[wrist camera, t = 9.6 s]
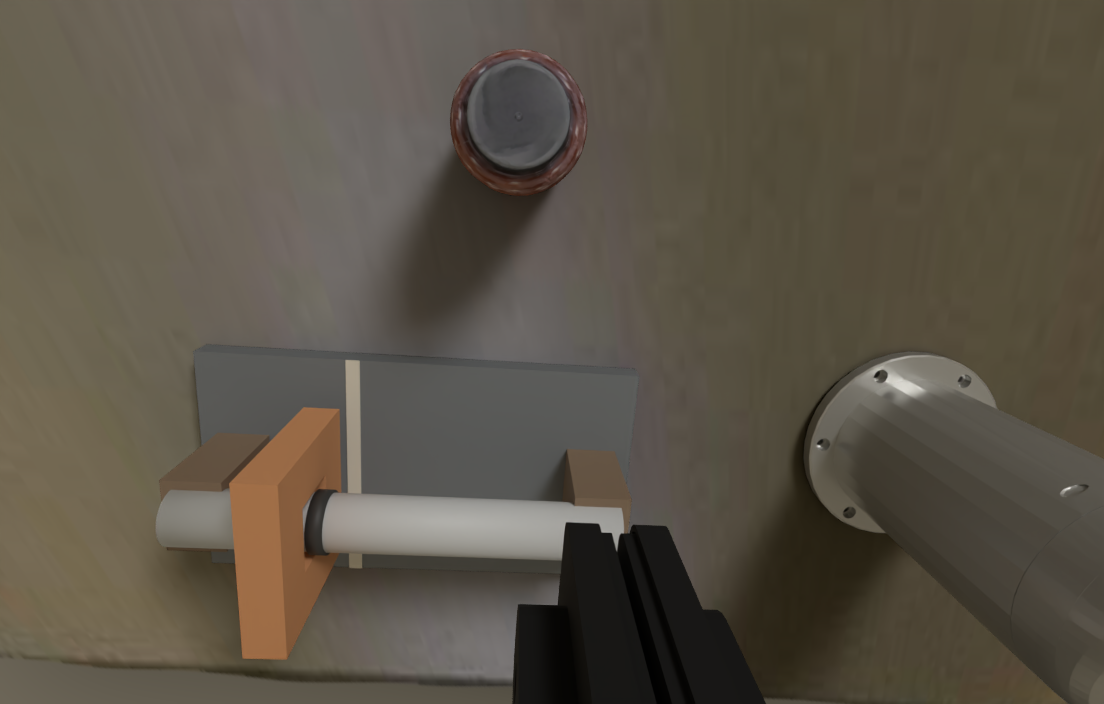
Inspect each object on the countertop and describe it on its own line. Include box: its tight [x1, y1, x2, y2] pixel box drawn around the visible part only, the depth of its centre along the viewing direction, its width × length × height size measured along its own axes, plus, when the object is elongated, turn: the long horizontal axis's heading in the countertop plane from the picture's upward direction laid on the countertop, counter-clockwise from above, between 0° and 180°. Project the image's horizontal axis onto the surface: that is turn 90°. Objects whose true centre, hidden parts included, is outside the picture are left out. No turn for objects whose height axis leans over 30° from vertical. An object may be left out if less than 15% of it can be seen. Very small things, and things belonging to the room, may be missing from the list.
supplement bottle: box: [450, 49, 587, 196], centre depth 28 cm, size 6×6×11 cm
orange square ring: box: [229, 407, 341, 659], centre depth 31 cm, size 2×9×9 cm, turn 176°
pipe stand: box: [156, 345, 639, 574], centre depth 34 cm, size 26×14×9 cm, turn 86°
